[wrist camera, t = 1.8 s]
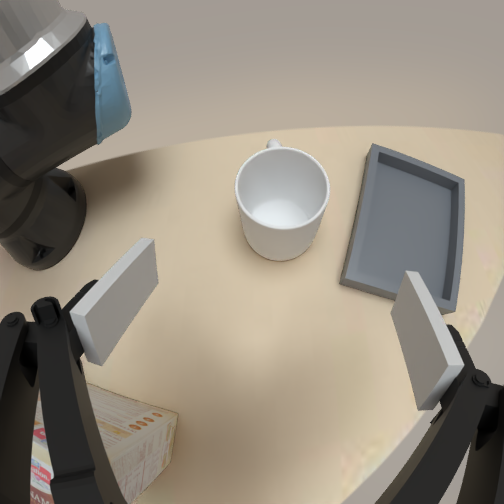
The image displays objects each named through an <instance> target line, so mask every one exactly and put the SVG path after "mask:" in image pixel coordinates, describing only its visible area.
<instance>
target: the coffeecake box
mask: <svg viewBox="0 0 504 504" xmlns="http://www.w3.org/2000/svg"><path fill="white" fill-rule="evenodd" d="M86 384H87V388H88V393H89V397H90V401H91V404H92V408H93V412H94V415H95V419H96V422H97V426H98V429H99V432H100V435H101V439H102V442H103V445H104V448H105V451H106V454H107V456H108V459H109V462H110V465H111V467H112V470H113V473H114V475H115V478H116V480H117V483H118V485H119V488H120V490H121V493H122V495H123V497H124V499H125V500H126V502H127V503H128V504H131V503H132V502H133V501H134V500H135V499H136V498H137V497H138V496H139V495H140V494H141V493H142V492H143V491H144V490H145V489H146V488H147V487H148V486H149V485H150V484H151V483H152V482H153V481H154V480H155V479H156V477H157V476H158V475H159V474H160V473H161V472H162V471H163V470H164V469H165V468H166V467H167V466H168V464H169V463H170V462H171V456H172V448H173V442H174V437H175V430H176V425H177V419H178V413H174V412H171V411H168V410H164V409H161V408H158V407H154V406H151V405H148V404H145V403H142V402H138V401H135V400H132V399H129V398H126V397H123V396H121V395H118V394H115V393H112V392H109V391H107V390H104V389H101V388H99V387H96V386H94V385H91V384H88V383H86ZM53 477H54V474H53V469H52V465H51V460H50V456H49V451H48V446H47V440H46V435H45V429H44V422H43V415H42V407H41V399H40V389H39V395H38V401H37V408H36V415H35V423H34V432H33V443H32V457H31V483H30V499H31V500H30V504H54V501H53V497H52V494H51V490H50V480H51V479H53Z"/></svg>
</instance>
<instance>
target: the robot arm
mask: <svg viewBox="0 0 504 504" xmlns="http://www.w3.org/2000/svg"><path fill="white" fill-rule="evenodd" d="M130 117H131V106H130V102H129V98H128V94H127V90H126V86H125V82H124V78H123V75H122V71H121V68H120V64H119V60H118V56H117V52H116V48H115V45H114V41H113V38H112V34H111V32H110V28H109V25H108V24H107V23H102V24H96V25H94V27H93V28H92V27H91V26H90V24H89V22H88V20H87V18H86V16H85V14H84V13H82V12H77V11H72V10H65V9H63V8H62V7H61V5H60V3H59V1H58V0H0V243H1V244H2V246H3V247H4V248H5V249H6V250H7V252H8V253H9V254H10V255H11V256H12V257H13V259H14V260H15V261H17V262H18V263H19V264H21V265H23V266H26V267H28V268H30V269H34V270H42V269H46V268H49V267H51V266H53V265H55V264H56V263H58V262H59V261H60V260H61V259H62V258H63V257H64V256H65V255H66V254H67V253H68V252H69V251H70V249H71V248H72V246H73V245H74V243H75V242H76V240H77V238H78V236H79V234H80V231H81V229H82V226H83V223H84V219H85V213H86V197H85V193H84V190H83V188H82V186H81V185H80V183H79V182H78V181H77V180H76V179H75V178H74V177H73V176H72V175H71V174H69V173H68V172H66V171H64V170H61V169H58V168H56V167H58V166H59V165H61V164H62V163H64V162H66V161H67V160H69V159H70V158H72V157H74V156H76V155H78V154H79V153H81V152H83V151H85V150H86V149H88V148H90V147H92V146H94V145H96V144H98V145H99V144H100V143H101V142H102V140H104V139H105V138H107V137H109V136H110V135H112V134H114V133H115V132H117V131H119V130H121V129H123V128H124V127H125V126H126V125H127V124H128V122H129V120H130ZM157 285H158V275H157V265H156V255H155V244H154V239H147V238H141V239H140V240H139V241H138V242H136V243H135V244H134V245H133V246H132V247H131V248H130V249H129V250H128V251H127V252H126V253H125V254H124V255H123V256H122V257H121V258H120V259H119V260H118V261H117V262H116V263H115V264H114V265H113V266H112V267H111V268H110V269H109V270H108V271H107V272H106V273H105V274H104V276H103V277H102V278H101V279H100V280H93V281H91V282H89V283H87V284H86V285H85V286H84V287H83V288H82V289H81V290H80V292H78V293H77V294H76V295H75V297H73V298H72V299H71V300H70V301H69V302H68V304H67V305H66V306H65V307H64V308H63V309H62V310H61V307H60V304H59V301H58V299H56V298H55V297H44V298H41V299H39V300H37V301H36V302H35V303H34V304H33V305H32V307H31V312H32V315H33V317H34V320H35V322H27V321H26V319H25V317H24V315H23V314H22V313H21V312H13V313H10V314H8V315H7V316H5V317H4V318H3V320H2V321H1V323H0V504H30V500H31V499H30V483H31V457H32V443H33V432H34V423H35V415H36V408H37V401H38V395H39V389H40V399H41V407H42V415H43V422H44V429H45V435H46V440H47V446H48V451H49V456H50V460H51V465H52V469H53V474H54V477H53V479H51V480H50V490H51V494H52V497H53V501H54V504H128V503H127V502H126V500H125V499H124V497H123V495H122V493H121V490H120V488H119V485H118V483H117V480H116V478H115V475H114V473H113V470H112V467H111V465H110V462H109V459H108V456H107V454H106V451H105V448H104V445H103V442H102V439H101V435H100V432H99V429H98V426H97V422H96V419H95V415H94V412H93V408H92V404H91V401H90V397H89V393H88V388H87V384H86V380H85V375H84V371H83V366H82V362H81V360H80V357H81V356H82V354H83V353H85V356H86V358H87V361H88V362H91V363H94V364H97V365H100V366H102V365H103V364H104V362H105V361H106V359H107V358H108V356H109V355H110V353H111V352H112V350H113V349H114V347H115V346H116V344H117V343H118V341H119V340H120V338H121V337H122V335H123V334H124V332H125V331H126V329H127V328H128V326H129V325H130V323H131V322H132V320H133V319H134V317H135V316H136V314H137V313H138V312H139V310H140V309H141V307H142V306H143V304H144V303H145V301H146V300H147V299H148V297H149V296H150V294H151V293H152V292H153V290H154V289H155V287H156V286H157ZM391 316H392V319H393V322H394V325H395V328H396V332H397V335H398V338H399V341H400V345H401V348H402V352H403V355H404V358H405V362H406V366H407V369H408V373H409V377H410V381H411V384H412V388H413V392H414V396H415V401H416V405H417V409H418V411H420V410H433V409H434V408H435V406H436V405H437V404H438V402H439V401H440V404H441V407H442V409H441V410H440V411H439V412H438V414H437V415H436V416H435V417H434V418H433V420H432V421H431V422H430V423H431V426H430V428H429V429H428V431H427V432H426V434H425V436H424V437H423V439H422V440H421V442H420V443H419V445H418V446H417V448H416V449H415V451H414V452H413V454H412V455H411V457H410V458H409V460H408V461H407V463H406V464H405V465H404V467H403V468H402V470H401V471H400V472H399V474H398V475H397V476H396V478H395V479H394V480H393V482H392V483H391V484H390V485H389V487H388V488H387V489H386V490H385V492H384V493H383V494H382V496H381V497H380V498H379V499H378V500H377V501H376V503H375V504H438V503H439V502H440V500H441V498H442V497H443V495H444V493H445V492H446V490H447V488H448V486H449V485H450V483H451V481H452V479H453V477H454V475H455V473H456V472H457V470H458V467H459V466H460V464H461V462H462V460H463V458H464V455H465V453H466V451H467V449H468V447H469V445H470V442H471V445H470V450H469V455H468V460H467V465H466V469H465V474H464V478H463V482H462V486H461V490H460V493H459V497H458V500H457V503H456V504H504V386H501V385H497V384H493V383H491V380H490V378H489V377H488V375H487V374H486V373H484V372H483V371H481V370H478V369H476V368H475V366H474V364H473V361H472V359H471V357H470V355H469V353H468V351H467V348H465V347H466V346H465V344H464V342H462V338H461V336H460V334H459V332H458V331H457V330H456V329H455V328H454V327H453V326H452V325H446V324H445V322H444V320H443V318H442V316H441V314H440V312H439V310H438V308H437V306H436V304H435V302H434V300H433V298H432V296H431V294H430V292H429V291H428V289H427V287H426V285H425V283H424V282H423V280H422V278H421V276H420V274H419V273H418V272H414V271H405V274H404V277H403V280H402V283H401V286H400V288H399V291H398V294H397V297H396V300H395V303H394V305H393V308H392V311H391Z"/></svg>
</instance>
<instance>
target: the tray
mask: <svg viewBox="0 0 504 504" xmlns="http://www.w3.org/2000/svg"><path fill="white" fill-rule="evenodd" d="M464 214H465V186H464V179H462V178H460V177H458V176H455V175H453V174H451V173H449V172H446V171H444V170H442V169H439V168H437V167H435V166H432V165H430V164H427V163H425V162H422V161H420V160H417V159H415V158H412V157H410V156H407V155H404V154H402V153H399V152H396V151H393V150H391V149H388V148H385V147H382V146H379V145H376V144H373V143H372V145H371V148H370V150H369V152H368V154H367V158H366V163H365V169H364V175H363V180H362V186H361V191H360V196H359V201H358V206H357V211H356V215H355V220H354V225H353V229H352V234H351V238H350V242H349V247H348V251H347V255H346V259H345V263H344V267H343V271H342V275H341V279H340V283H339V284H341V285H345V286H348V287H351V288H355V289H358V290H361V291H365V292H368V293H371V294H375V295H378V296H381V297H385V298H388V299H391V300H396V297H397V294H398V291H399V288H400V286H401V283H402V280H403V277H404V274H405V271H414V272H418V273H419V274H420V276H421V278H422V280H423V282H424V283H425V285H426V287H427V289H428V291H429V292H430V294H431V296H432V298H433V300H434V302H435V304H436V306H437V308H438V310H439V312H440V314H441V315H444V314H448V313H452V312H455V310H456V304H457V298H458V291H459V283H460V274H461V265H462V254H463V239H464Z"/></svg>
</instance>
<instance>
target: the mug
mask: <svg viewBox="0 0 504 504" xmlns="http://www.w3.org/2000/svg"><path fill="white" fill-rule="evenodd" d="M235 195H236V200H237V204H238V209H239V213H240V217H241V222H242V226H243V230H244V234H245V237H246V239H247V241H248V243H249V245H250V246H251V247H252V248H253V250H254V251H256V252H257V253H258V254H259V255H261V256H263V257H265V258H267V259H270V260H276V261H285V260H290V259H293V258H296V257H298V256H299V255H301V254H302V253H303V252H305V251H306V250H307V249H308V248H309V246H310V245H311V243H312V242H313V240H314V238H315V235H316V232H317V230H318V227H319V225H320V222H321V219H322V217H323V214H324V211H325V209H326V206H327V203H328V200H329V196H330V183H329V179H328V176H327V174H326V172H325V170H324V168H323V167H322V166H321V164H320V163H319V162H318V161H317V160H316V159H315V158H313V157H312V156H311V155H309V154H307V153H306V152H303V151H301V150H298V149H295V148H291V147H282V145H281V143H280V142H279V141H278V140H276V139H271V140H269V141H268V143H267V149H264V150H261V151H259V152H257V153H255V154H254V155H252V156H251V157H250V158H248V159H247V160H246V161H245V162H244V163H243V165H242V166H241V168H240V169H239V171H238V173H237V176H236V180H235Z"/></svg>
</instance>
